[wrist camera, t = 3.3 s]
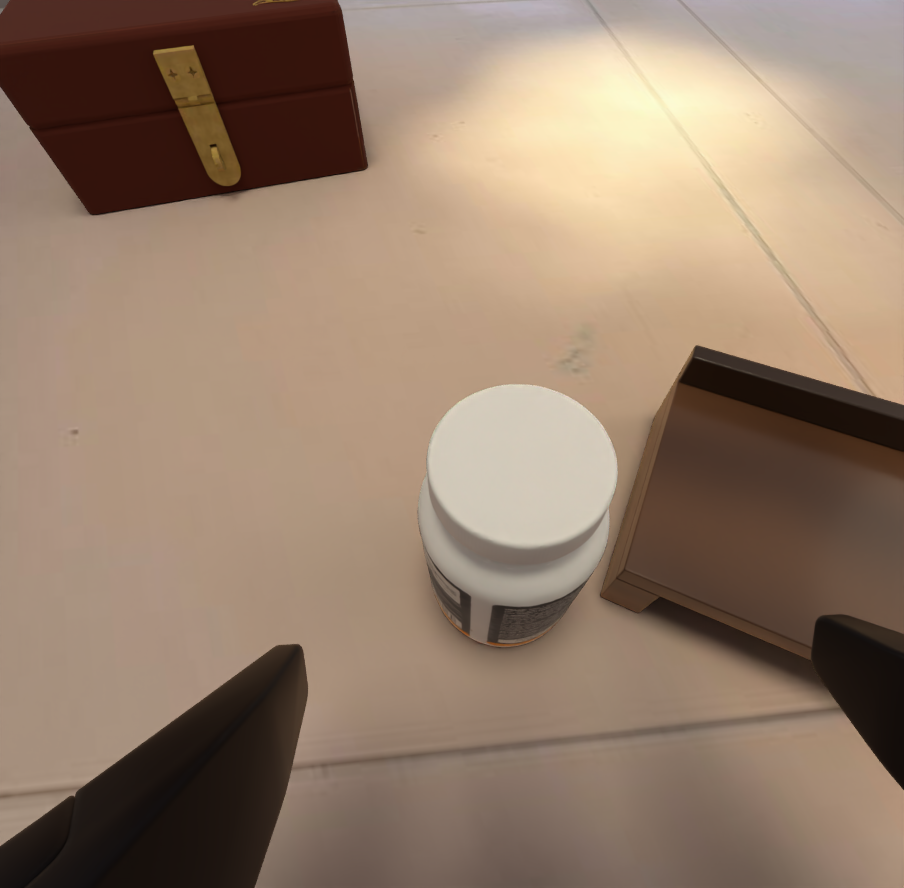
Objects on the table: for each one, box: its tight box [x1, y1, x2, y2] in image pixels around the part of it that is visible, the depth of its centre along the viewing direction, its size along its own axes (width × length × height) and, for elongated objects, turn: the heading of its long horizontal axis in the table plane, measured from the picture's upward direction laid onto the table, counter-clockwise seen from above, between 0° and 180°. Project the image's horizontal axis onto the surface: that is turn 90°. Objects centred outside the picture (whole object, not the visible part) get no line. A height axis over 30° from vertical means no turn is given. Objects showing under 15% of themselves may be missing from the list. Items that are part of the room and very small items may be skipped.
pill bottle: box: [418, 384, 618, 647], centre depth 16 cm, size 6×6×10 cm
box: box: [0, 0, 368, 214], centre depth 36 cm, size 21×16×10 cm
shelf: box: [600, 345, 904, 660], centre depth 18 cm, size 10×14×5 cm
